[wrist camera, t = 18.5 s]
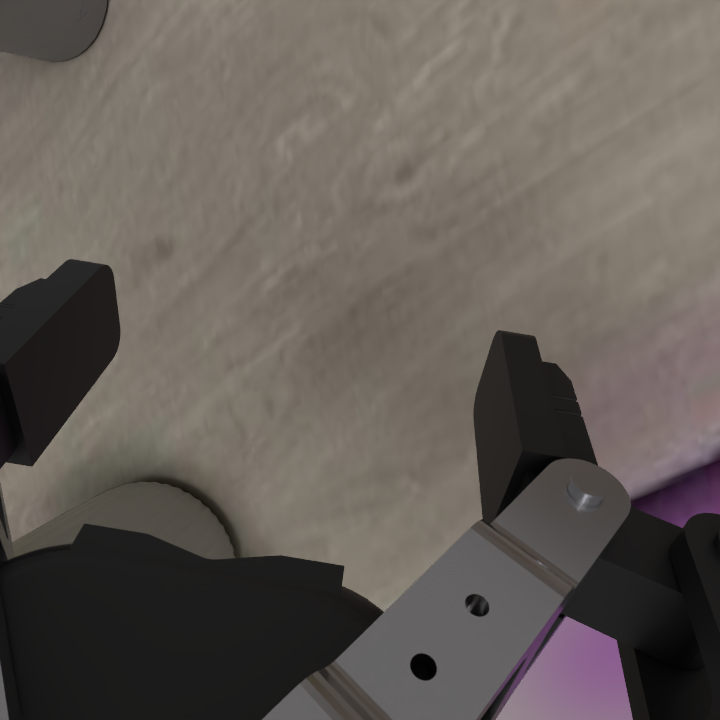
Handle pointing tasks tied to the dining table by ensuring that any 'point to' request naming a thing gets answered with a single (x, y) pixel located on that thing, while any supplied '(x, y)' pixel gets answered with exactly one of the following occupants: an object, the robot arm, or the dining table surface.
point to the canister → (139, 520)
